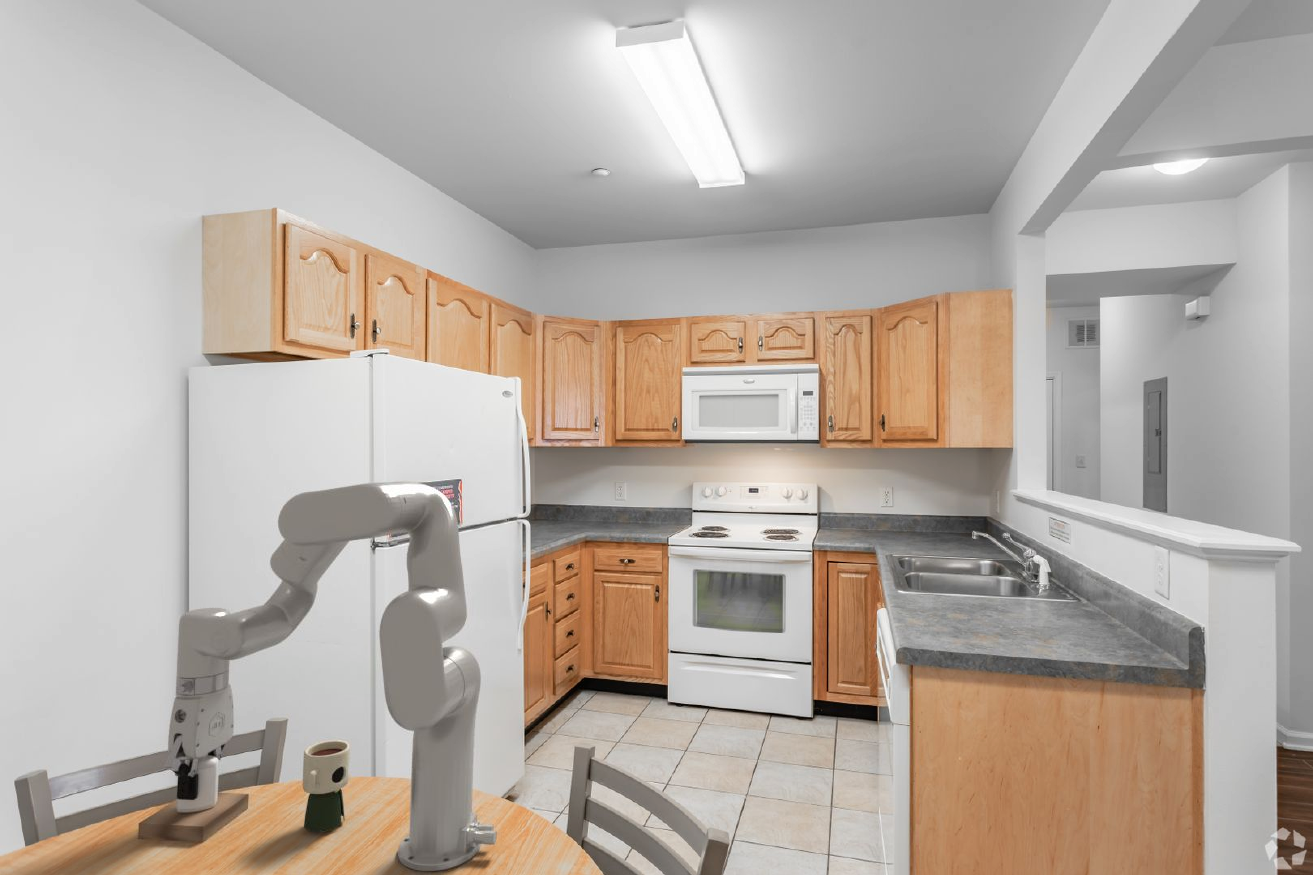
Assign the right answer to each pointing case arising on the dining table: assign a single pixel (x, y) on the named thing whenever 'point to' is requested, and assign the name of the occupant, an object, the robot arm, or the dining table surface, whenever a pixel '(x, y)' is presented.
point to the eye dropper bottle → (203, 786)
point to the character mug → (325, 783)
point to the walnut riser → (192, 820)
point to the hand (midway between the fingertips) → (197, 790)
